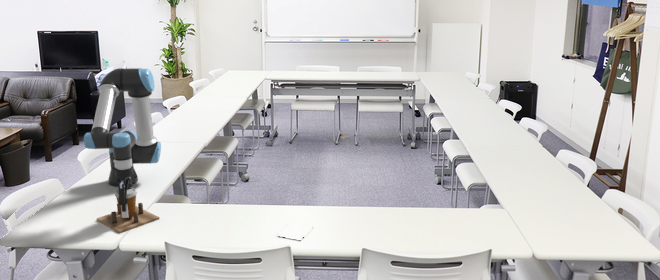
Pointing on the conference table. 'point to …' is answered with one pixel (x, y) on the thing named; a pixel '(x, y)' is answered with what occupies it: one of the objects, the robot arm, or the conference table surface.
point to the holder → (128, 219)
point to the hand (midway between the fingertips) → (127, 213)
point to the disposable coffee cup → (128, 201)
